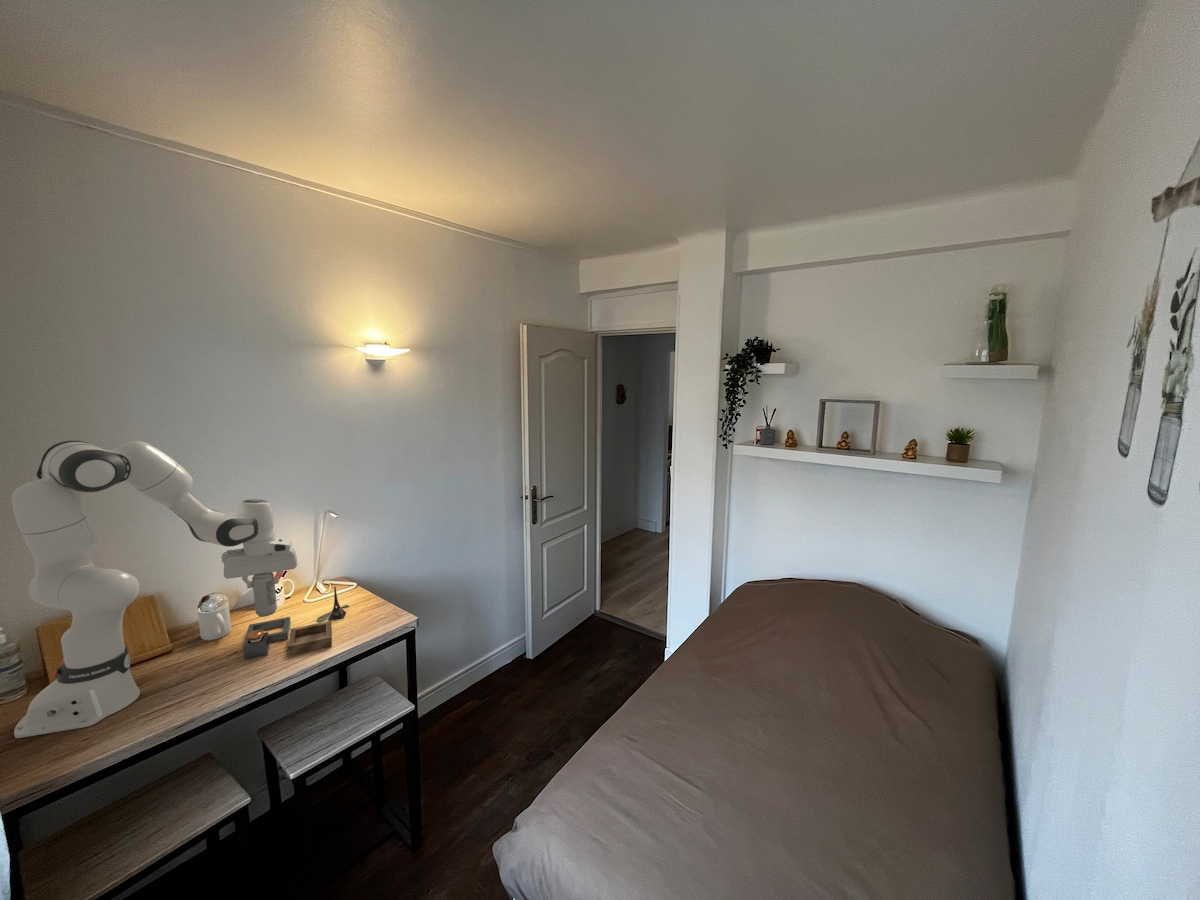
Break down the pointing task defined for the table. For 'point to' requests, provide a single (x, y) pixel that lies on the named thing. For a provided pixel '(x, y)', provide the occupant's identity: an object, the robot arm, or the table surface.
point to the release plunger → (255, 635)
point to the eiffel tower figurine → (334, 611)
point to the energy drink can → (264, 594)
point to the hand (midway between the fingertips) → (263, 585)
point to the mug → (214, 623)
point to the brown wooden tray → (310, 638)
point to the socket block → (265, 637)
